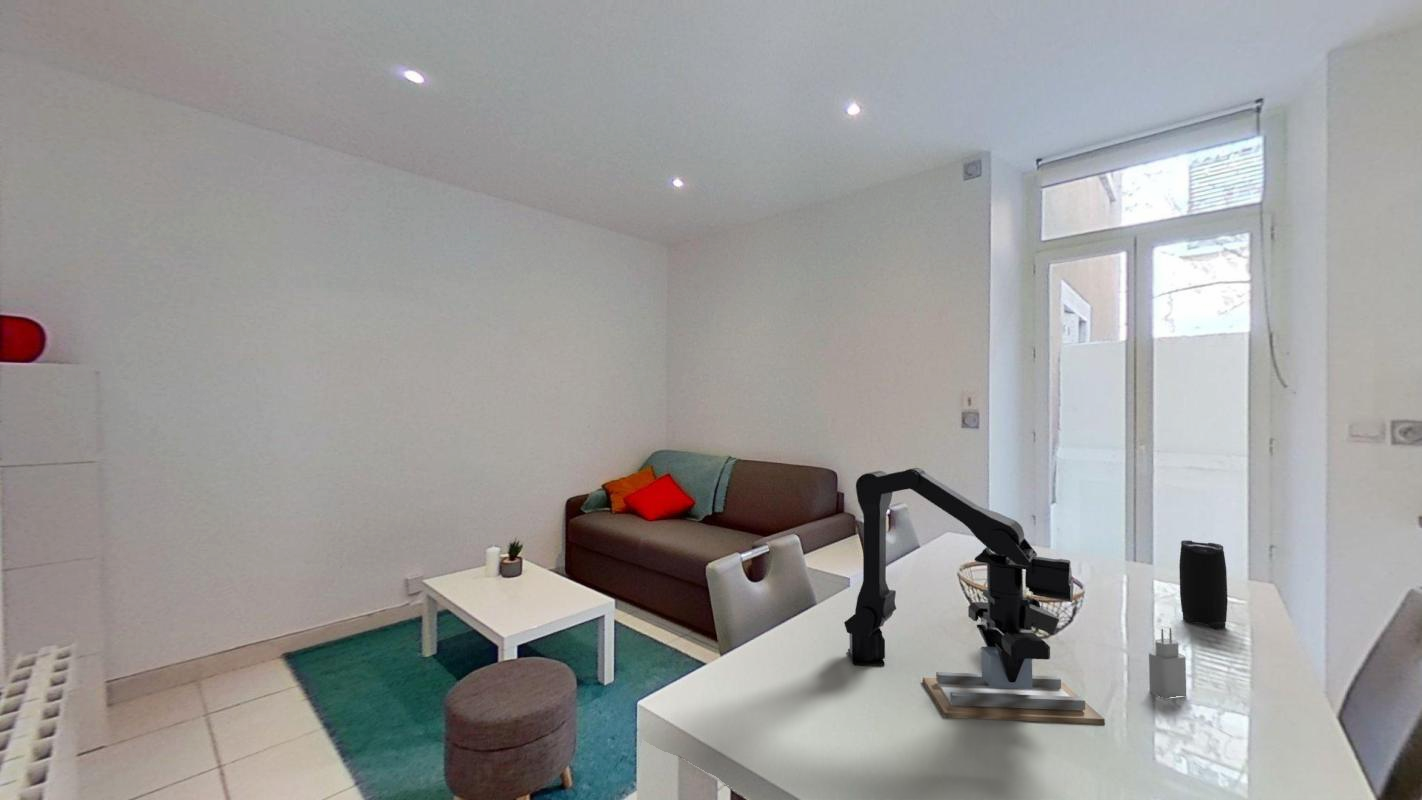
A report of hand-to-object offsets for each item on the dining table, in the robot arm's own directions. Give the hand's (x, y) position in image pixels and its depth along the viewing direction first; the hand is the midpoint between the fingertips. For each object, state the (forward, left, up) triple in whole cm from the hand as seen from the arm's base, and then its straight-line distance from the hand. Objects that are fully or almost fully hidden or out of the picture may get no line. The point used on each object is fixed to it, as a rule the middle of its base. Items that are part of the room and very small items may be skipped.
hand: (1006, 675), depth 96 cm
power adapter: (+31, +5, -5) cm, 32 cm away
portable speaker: (+65, +40, -5) cm, 76 cm away
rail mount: (0, 0, -4) cm, 5 cm away
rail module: (0, 0, -1) cm, 1 cm away
